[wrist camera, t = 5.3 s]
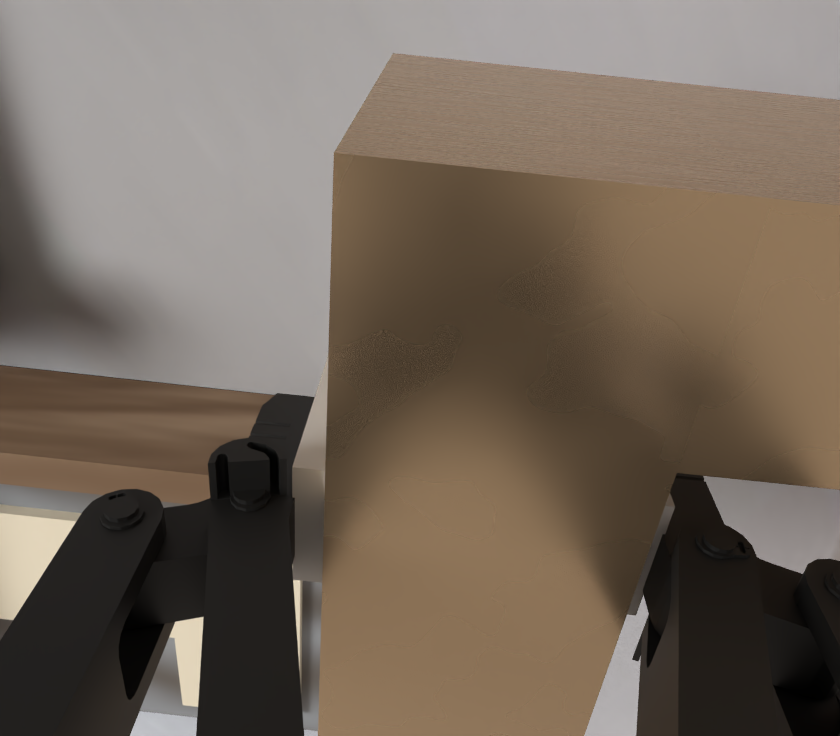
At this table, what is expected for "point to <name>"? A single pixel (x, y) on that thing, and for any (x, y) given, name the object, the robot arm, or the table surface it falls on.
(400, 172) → the wooden l-shaped block
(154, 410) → the arena
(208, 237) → the table surface
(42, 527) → the pad
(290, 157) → the table surface
